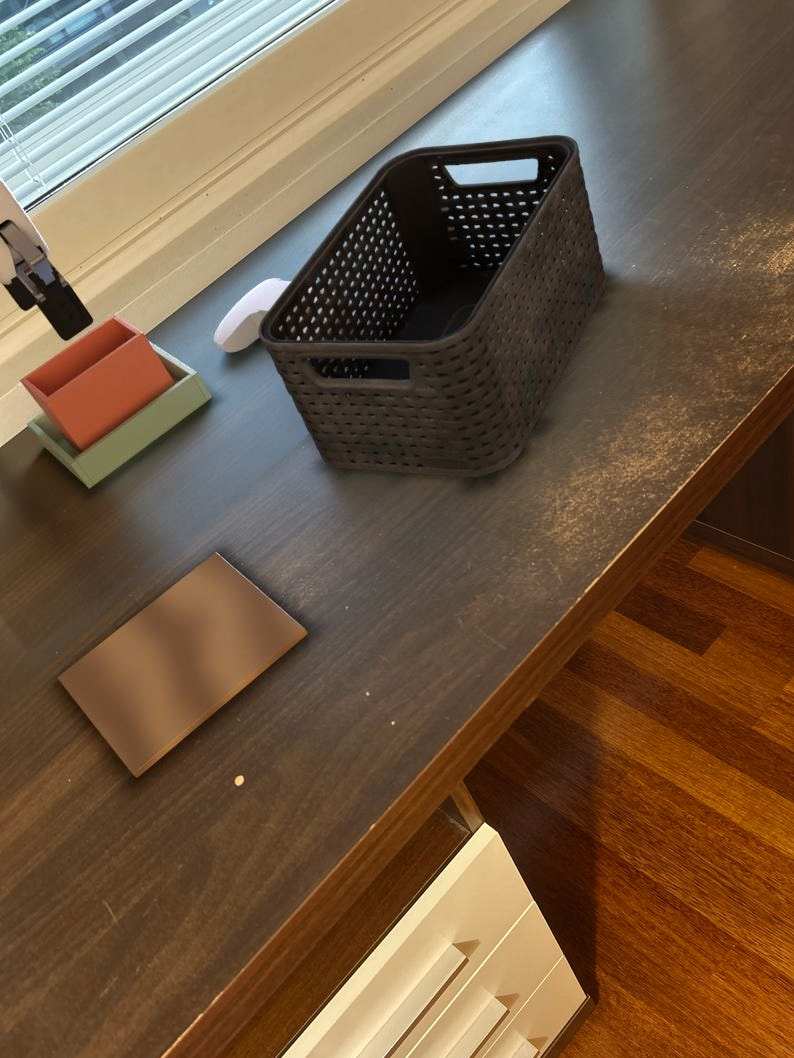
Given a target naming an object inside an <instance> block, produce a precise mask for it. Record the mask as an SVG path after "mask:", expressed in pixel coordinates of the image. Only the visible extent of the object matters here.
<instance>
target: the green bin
mask: <svg viewBox="0 0 794 1058" xmlns="http://www.w3.org/2000/svg"><path fill="white" fill-rule="evenodd" d="M148 341H149V343H150V344H151V346H152V347H153V349H154V351H155V352H156V354H157V355H158V357H159V359H160V360H161V362H162V363H163V365H164V367H165V368H166V370H167V371H168V373H169V374H170V376H171V378H172V379H173V381H174V382H175V384H176V385H174V386H173V387H171V388H170V389H169V390H167V391H166V392H165V393H163V394H162V395H160V396H159V397H158V398H156V399H155V400H154V401H152V402H151V403H150V404H148V405H147V406H145V407H144V408H143V409H141V410H140V411H139V412H137V413H136V414H134V415H133V416H132V417H130V418H129V419H128V420H126V421H125V422H123V423H122V424H121V425H119V426H118V427H117V428H115V429H114V430H113V431H111V432H110V433H108V434H107V435H106V436H104V437H103V438H102V439H100V440H99V441H97V442H96V443H95V444H93V445H92V446H91V447H89V448H88V449H87V450H85V451H84V452H82V453H81V454H80V453H78V452H77V451H76V450H75V449H74V448H73V447H72V446H71V445H69V444H68V442H67V441H66V440H65V438H64V437H63V436H62V434H61V433H60V432H59V431H58V429H57V428H56V427H55V425H54V424H53V423H52V422H51V420H50V419H49V418H48V416H47V415H46V414H45V412H44V411H42V412H41V413H39V414H38V415H37V416H35V417H34V418H33V419H32V420H30V421H28V422H27V423H26V426H27V427H28V428H29V429H30V430H31V432H32V433H33V434H34V436H35V437H36V438H37V440H38V441H40V444H41V445H42V446H43V447H44V448H45V449H46V450H47V451H49V453H51V454H52V455H53V456H54V457H55V458H56V459H57V460H58V461H59V462H60V463H61V464H62V465H64V466H65V468H67V469H68V470H69V471H70V472H71V473H72V474H73V475H74V476H75V477H76V478H77V479H78V480H79V481H80V482H82V483H83V484H84V485H85V486H86V487H87V488H88V489H92V487H94V486H95V485H96V484H98V483H99V482H100V481H101V480H103V479H104V478H106V477H107V476H108V475H110V474H111V473H112V472H114V471H115V470H117V469H118V468H119V467H121V466H122V465H124V463H126V462H127V461H128V460H130V459H132V458H133V457H134V456H135V455H137V454H138V453H139V452H142V450H143V449H145V448H146V447H148V446H149V445H150V444H152V443H153V442H154V441H155V440H158V438H160V437H161V436H162V435H164V434H165V433H166V432H168V431H169V430H171V429H172V428H173V427H174V426H176V425H177V424H178V423H180V422H181V421H182V420H184V419H186V417H188V416H189V415H191V414H192V413H193V412H194V411H196V410H197V409H199V408H200V407H201V406H203V405H204V404H205V403H207V402H208V401H209V400H211V399H212V398H213V395H212V394H211V393H210V391H209V389H208V387H206V385H205V383H204V381H203V379H202V378H201V376H200V374H199V373H198V372H197V371H196V370H194V369H193V368H191V367H190V366H188V365H186V364H185V363H183V362H182V361H181V360H179V359H177V358H176V357H174V356H173V355H171V354H169V353H168V352H167V351H165V350H163V349H162V348H161V347H159V346H157V345H156V344H155V343H153V342H152V341H150V340H148Z"/></svg>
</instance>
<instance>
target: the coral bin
mask: <svg viewBox="0 0 794 1058" xmlns="http://www.w3.org/2000/svg"><path fill="white" fill-rule="evenodd" d="M149 341H150V340H148V338H147V336H146V335H145V333H144V332H142V330H140V329H138V328H136V327H135V326H133V325H132V324H130V323H129V322H127V321H126V320H124V319H123V318H121V317H119V316H118V315H116V314H113V315H111V316H110V317H109V318H107V319H106V320H104V321H103V322H101V323H100V324H99V325H97V326H95V327H94V328H93V329H91V330H90V331H88V332H87V333H85V334H84V335H83V336H81V337H80V338H78V339H77V340H75V341H74V342H73V343H71V344H70V345H68V346H67V347H66V348H64V349H63V350H61V351H60V352H58V353H57V354H55V355H54V356H53V357H51V358H49V359H48V360H47V361H46V362H44V363H42V364H41V365H39V366H38V367H37V368H35V369H34V370H32V371H31V372H29V373H28V374H26V375H25V376H23V377H22V378H21V379H20V380H19V381H20V383H21V385H23V386H24V388H25V389H26V391H27V392H28V393H29V395H30V396H31V398H32V399H33V400H34V401H35V402H36V404H37V405H38V406H39V407H40V409H41V410H42V412H45V414H46V415H47V416H48V418H49V419H50V420H51V422H52V423H53V424H54V425H55V427H56V428H57V429H58V431H59V432H60V433H61V434H62V436H63V437H64V438H65V440H66V441H67V442H68V444H69V445H71V446H72V447H73V448H74V449H75V450H76V451H77V452H78V453H80V454H81V453H82V452H84V451H85V450H87V449H88V448H89V447H91V446H92V445H93V444H95V443H96V442H97V441H99V440H100V439H102V438H103V437H104V436H106V435H107V434H108V433H110V432H111V431H113V430H114V429H115V428H117V427H118V426H119V425H121V424H122V423H123V422H125V421H126V420H128V419H129V418H130V417H132V416H133V415H134V414H136V413H137V412H139V411H140V410H141V409H143V408H144V407H145V406H147V405H148V404H150V403H151V402H152V401H154V400H155V399H156V398H158V397H159V396H160V395H162V394H163V393H165V392H166V391H167V390H169V389H170V388H171V387H173V386H174V385H176V384H175V382H174V381H173V379H172V378H171V376H170V374H169V373H168V371H167V370H166V368H165V367H164V365H163V363H162V362H161V360H160V359H159V357H158V355H157V354H156V352H155V351H154V349H153V347H152V346H151V344H150V343H149Z"/></svg>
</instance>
